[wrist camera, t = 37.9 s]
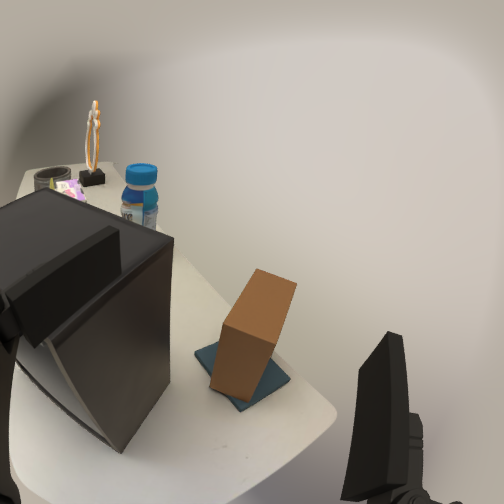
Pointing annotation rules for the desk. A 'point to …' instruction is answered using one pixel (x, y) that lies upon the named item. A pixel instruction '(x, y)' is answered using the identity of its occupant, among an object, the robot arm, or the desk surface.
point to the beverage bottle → (140, 195)
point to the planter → (51, 176)
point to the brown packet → (251, 334)
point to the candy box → (71, 189)
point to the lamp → (93, 174)
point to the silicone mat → (267, 384)
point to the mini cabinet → (95, 316)
